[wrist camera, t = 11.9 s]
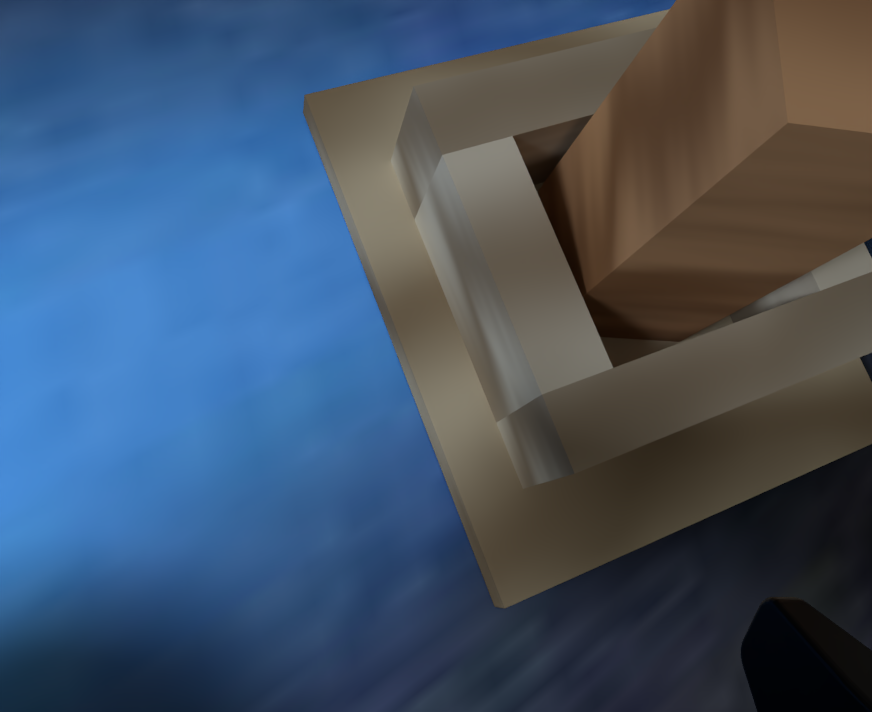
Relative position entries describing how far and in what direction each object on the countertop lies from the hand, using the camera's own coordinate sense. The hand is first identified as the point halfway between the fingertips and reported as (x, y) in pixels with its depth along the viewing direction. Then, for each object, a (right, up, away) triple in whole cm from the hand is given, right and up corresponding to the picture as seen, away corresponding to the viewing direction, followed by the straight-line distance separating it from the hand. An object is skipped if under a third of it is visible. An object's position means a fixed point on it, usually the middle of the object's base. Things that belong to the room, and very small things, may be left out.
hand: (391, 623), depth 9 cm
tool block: (+6, +5, +17) cm, 19 cm away
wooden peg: (+6, +6, +16) cm, 18 cm away
